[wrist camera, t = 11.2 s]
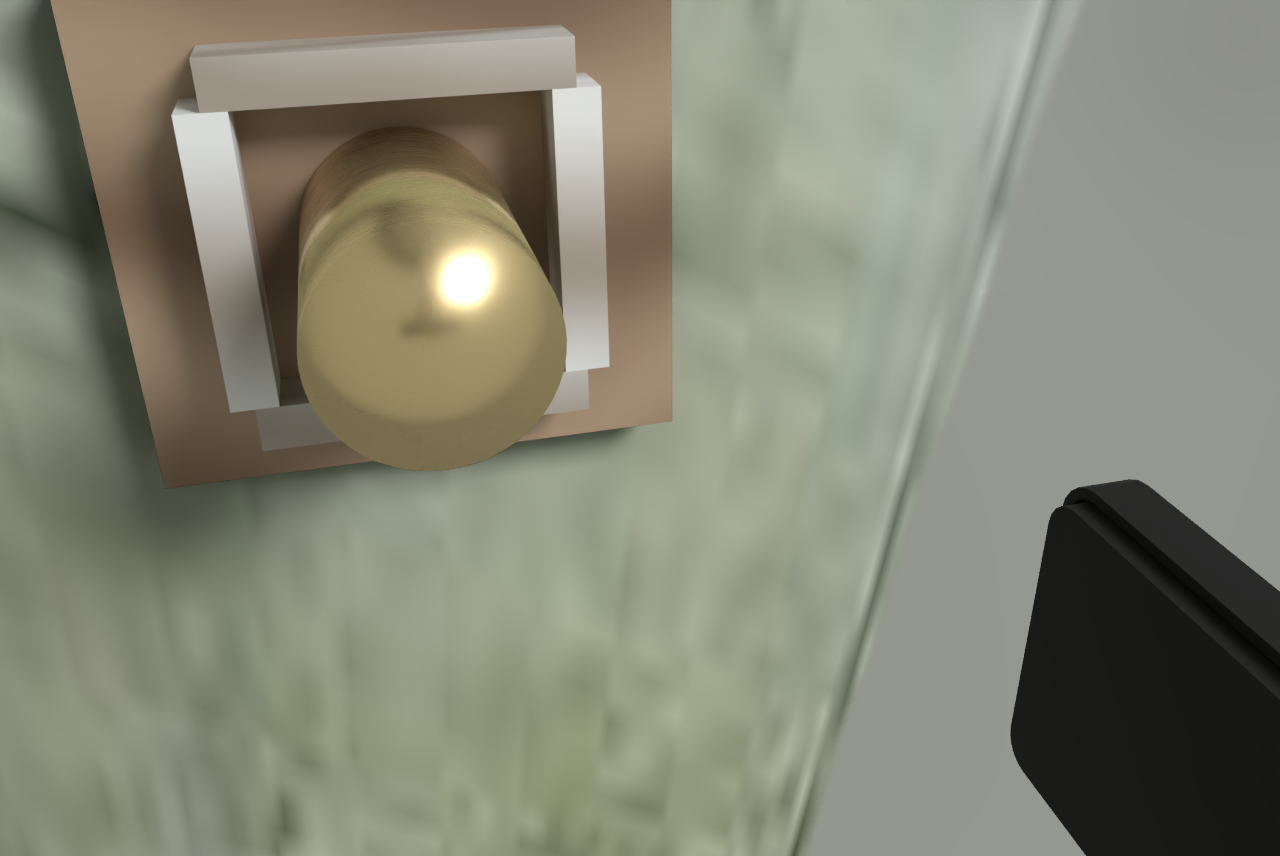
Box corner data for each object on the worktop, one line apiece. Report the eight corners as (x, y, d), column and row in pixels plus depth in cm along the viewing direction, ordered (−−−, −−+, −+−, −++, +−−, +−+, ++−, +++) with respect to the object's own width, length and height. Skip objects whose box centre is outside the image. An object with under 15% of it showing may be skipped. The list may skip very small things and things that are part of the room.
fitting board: (58, -36, 23) (27, -17, 20) (651, -60, 25) (692, -46, 23) (171, 458, 28) (158, 522, 25) (656, 395, 30) (689, 448, 28)
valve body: (284, 133, 24) (276, 236, 18) (499, 119, 25) (561, 212, 19) (314, 333, 26) (317, 487, 20) (512, 312, 27) (571, 453, 21)
